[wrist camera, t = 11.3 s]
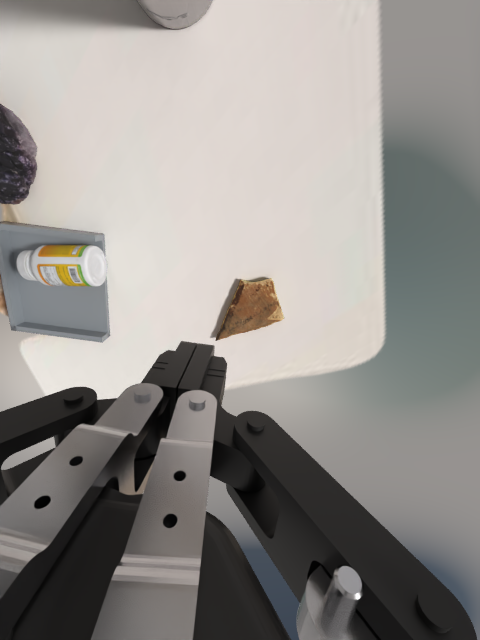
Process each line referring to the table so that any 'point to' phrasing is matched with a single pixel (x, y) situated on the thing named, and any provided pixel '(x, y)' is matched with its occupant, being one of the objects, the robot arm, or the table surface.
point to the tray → (51, 287)
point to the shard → (251, 308)
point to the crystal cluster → (15, 158)
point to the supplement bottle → (64, 265)
